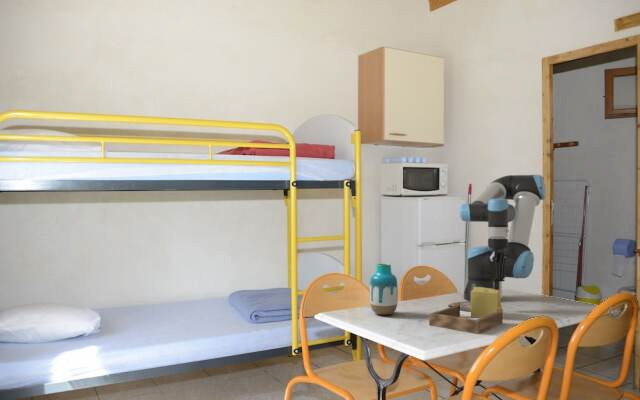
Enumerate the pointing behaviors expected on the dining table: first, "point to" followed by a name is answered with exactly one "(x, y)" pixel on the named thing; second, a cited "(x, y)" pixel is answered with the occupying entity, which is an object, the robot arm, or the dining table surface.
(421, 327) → the dining table surface
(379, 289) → the vase
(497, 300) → the cheese
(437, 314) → the bay
